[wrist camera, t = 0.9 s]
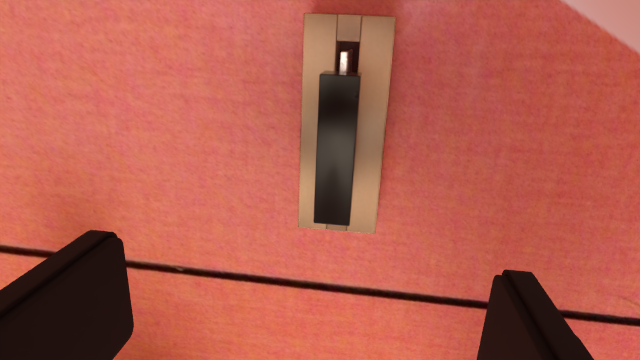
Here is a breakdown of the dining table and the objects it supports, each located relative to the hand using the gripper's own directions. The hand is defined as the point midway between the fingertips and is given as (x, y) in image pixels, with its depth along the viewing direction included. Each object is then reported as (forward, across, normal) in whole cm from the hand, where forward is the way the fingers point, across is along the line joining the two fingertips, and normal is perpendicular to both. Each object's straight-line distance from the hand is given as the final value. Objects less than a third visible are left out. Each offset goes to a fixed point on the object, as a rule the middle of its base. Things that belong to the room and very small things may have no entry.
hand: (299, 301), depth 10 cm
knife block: (+20, 0, -1) cm, 20 cm away
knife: (+20, 0, -1) cm, 20 cm away
